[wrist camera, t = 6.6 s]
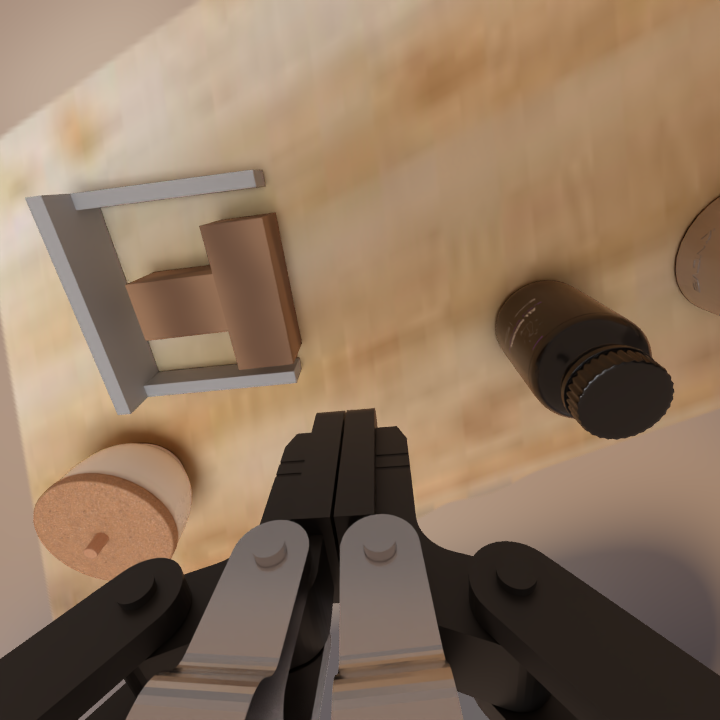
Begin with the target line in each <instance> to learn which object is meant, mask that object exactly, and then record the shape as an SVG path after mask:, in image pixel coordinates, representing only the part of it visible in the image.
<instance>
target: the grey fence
mask: <svg viewBox="0 0 720 720" xmlns="http://www.w3.org/2000/svg"><path fill="white" fill-rule="evenodd" d="M263 186H265V181H264V176H263V171H262V170H246V171H238V172H231V173H223V174H216V175H208V176H201V177H193V178H186V179H178V180H170V181H163V182H155V183H148V184H140V185H133V186H125V187H118V188H110V189H103V190H95V191H88V192H80V193H73V194H59V195H42V196H34V197H27V198H25V199H26V201H27V204H28V206H29V208H30V211H31V213H32V215H33V218H34V220H35V222H36V225H37V227H38V229H39V232H40V234H41V236H42V239H43V241H44V243H45V246H46V248H47V250H48V253H49V255H50V257H51V260H52V262H53V264H54V267H55V269H56V271H57V274H58V276H59V278H60V281H61V283H62V286H63V288H64V290H65V293H66V295H67V297H68V300H69V302H70V304H71V307H72V309H73V311H74V314H75V316H76V318H77V321H78V323H79V325H80V328H81V330H82V332H83V335H84V337H85V339H86V342H87V344H88V346H89V349H90V351H91V353H92V356H93V358H94V360H95V363H96V365H97V367H98V370H99V372H100V374H101V377H102V379H103V381H104V384H105V386H106V388H107V391H108V393H109V395H110V398H111V400H112V402H113V405H114V407H115V409H116V412H117V414H118V415H124V414H131V413H132V412H133V411H134V410H135V409H136V408H137V407H138V406H139V405H140V404H141V403H142V402H143V401H144V400H145V399H146V398H147V397H152V396H163V395H174V394H184V393H195V392H205V391H216V390H226V389H237V388H248V387H258V386H269V385H279V384H290V383H297V380H298V377H299V374H300V372H301V364H300V359H299V358H296V359H295V361H294V364H290V365H281V366H272V367H262V368H253V369H244V370H239V368H238V364H232V365H222V366H212V367H202V368H192V369H181V370H171V371H161V372H159V371H158V368H157V365H156V362H155V360H154V357H153V354H152V351H151V349H150V346H149V343H148V341H146V340H145V338H144V335H143V332H142V330H141V327H140V324H139V322H138V319H137V316H136V314H135V311H134V308H133V305H132V303H131V300H130V297H129V295H128V292H127V289H126V287H125V285H126V284H127V282H126V279H125V276H124V274H123V271H122V268H121V265H120V262H119V260H118V257H117V254H116V251H115V249H114V246H113V243H112V240H111V237H110V235H109V232H108V229H107V226H106V224H105V221H104V218H103V215H102V213H101V210H100V207H108V206H116V205H124V204H131V203H139V202H147V201H155V200H162V199H170V198H178V197H185V196H193V195H201V194H209V193H216V192H224V191H232V190H239V189H247V188H255V187H263Z"/></svg>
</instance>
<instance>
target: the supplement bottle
mask: <svg viewBox="0 0 720 720" xmlns="http://www.w3.org/2000/svg"><path fill="white" fill-rule="evenodd" d="M496 336H497V340H498V342H499V345H500V347H501V348H502V350H503V351H504V353H505V354H506V356H507V357H508V359H509V360H510V362H511V363H512V364H513V366H514V367H515V369H516V370H517V371H518V373H519V374H520V376H521V377H522V378H523V380H524V381H525V383H526V384H527V385H528V387H529V388H530V390H531V391H532V392H533V394H534V395H535V397H536V398H537V399H538V400H539V401H540V402H541V404H543V405H544V406H545V407H546V408H547V409H549V410H550V411H552V412H554V413H556V414H558V415H561V416H564V417H568V418H574V419H576V420H577V422H578V423H579V424H580V425H581V426H582V427H583V428H584V429H585V430H586V431H588V432H590V433H591V434H592V435H596V436H598V437H599V438H606V439H620V438H628V437H630V436H635V435H637V434H638V433H641V432H644V431H645V430H646V429H648V428H650V427H652V426H653V425H654V424H655V423H656V422H658V421H659V420H660V419H661V417H662V416H663V415H665V414H666V411H667V409H668V408H669V407H670V403H671V401H672V400H673V393H674V389H673V384H674V383H673V382H672V381H671V376H670V375H669V374H668V373H667V371H666V369H665V368H663V367H662V366H661V365H659V364H658V363H657V362H655V361H654V360H653V358H652V352H651V347H650V344H649V342H648V339H647V337H646V336H645V334H644V333H643V332H642V331H641V329H640V328H639V327H637V326H636V325H635V324H634V323H632V322H631V321H629V320H628V319H626V318H625V317H623V316H621V315H620V314H618V313H616V312H615V311H613V310H611V309H610V308H608V307H606V306H604V305H603V304H601V303H599V302H598V301H596V300H594V299H593V298H591V297H589V296H588V295H586V294H584V293H583V292H581V291H579V290H578V289H576V288H574V287H572V286H570V285H568V284H566V283H563V282H559V281H552V280H545V281H538V282H534V283H531V284H528V285H526V286H524V287H522V288H521V289H519V290H517V291H516V292H515V293H514V294H512V295H511V296H510V297H509V298H508V299H507V301H506V302H505V303H504V305H503V306H502V308H501V310H500V312H499V314H498V318H497V322H496Z"/></svg>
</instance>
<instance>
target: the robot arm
mask: <svg viewBox="0 0 720 720" xmlns="http://www.w3.org/2000/svg"><path fill="white" fill-rule="evenodd" d="M676 276H677V283H678V285H679V287H680V289H681V292H682V293H683V295H684V296H685V297H686V298H687V299H688V300H689V301H690V302H691V303H693V304H694V305H696V306H697V307H699V308H702V309H704V310H707V311H709V312H712V313H714V314H717V315H719V316H720V197H719V198H718V199H716V200H715V201H713V202H712V203H711V204H710V205H709V206H708V207H707V208H706V209H705V210H704V211H703V212H702V213H701V214H700V215H699V216H698V217H697V218H696V220H695V221H694V222H693V224H692V225H691V226H690V228H689V229H688V231H687V233H686V235H685V237H684V239H683V241H682V243H681V245H680V249H679V252H678V255H677V261H676ZM276 475H277V477H275V480H274V483H273V486H272V489H271V492H270V495H269V498H268V501H267V504H266V507H265V511H264V514H263V517H262V520H261V523H260V525H258V526H256V527H255V528H253V529H251V530H250V531H249V532H247V533H246V534H245V535H244V536H243V537H242V538H241V539H240V540H239V542H238V543H237V544H236V546H235V548H234V549H233V551H232V554H231V556H230V558H228V559H226V560H225V561H222V562H220V563H217V564H214V565H211V566H208V567H205V568H202V569H199V570H196V571H193V572H190V573H187V574H185V575H184V574H183V572H182V569H181V567H180V566H179V564H178V563H177V562H175V561H174V560H171V559H168V558H153V559H149V560H145V561H142V562H140V563H137V564H135V565H133V566H131V567H129V568H128V569H126V570H125V571H123V572H122V573H120V574H119V575H118V576H116V577H115V578H113V579H112V580H110V581H109V582H108V583H106V584H105V585H103V586H102V587H101V588H99V589H98V590H96V591H95V592H94V593H92V594H91V595H89V596H88V597H87V598H85V599H84V600H82V601H81V602H80V603H78V604H77V605H75V606H74V607H73V608H71V609H70V610H68V611H67V612H66V613H64V614H63V615H61V616H60V617H59V618H57V619H56V620H54V621H53V622H52V623H50V624H49V625H47V626H46V627H45V628H43V629H42V630H40V631H39V632H38V633H36V634H35V635H33V636H32V637H31V638H29V639H28V640H26V641H25V642H23V643H22V644H21V645H19V646H18V647H16V648H15V649H14V650H12V651H11V652H9V653H8V654H7V655H5V656H4V657H2V658H1V659H0V720H78V719H79V718H80V717H81V716H82V715H83V714H85V713H86V712H87V711H88V710H89V709H90V708H91V707H92V706H94V705H95V704H96V703H97V702H98V701H99V700H100V699H101V698H103V697H104V696H105V695H106V694H107V693H108V692H109V691H110V690H112V689H113V688H114V687H115V686H116V685H117V684H118V683H120V682H121V681H122V680H123V679H124V680H125V682H126V683H125V684H124V685H123V686H122V687H121V688H120V689H119V690H118V691H116V692H115V693H114V694H113V695H112V696H111V697H110V698H109V699H107V701H105V702H104V703H103V704H102V705H101V706H100V707H99V708H97V709H96V710H95V711H94V712H93V713H92V714H91V715H90V716H89V717H87V718H86V719H85V720H319V717H320V711H321V705H322V698H323V692H324V686H325V680H326V674H327V668H328V662H329V656H330V650H331V634H330V626H331V617H332V606H333V603H340V619H339V628H340V629H339V670H338V674H337V675H335V677H334V682H333V692H332V712H331V716H332V717H331V720H463V716H462V712H461V707H460V703H459V699H458V694H457V691H458V692H461V693H464V694H466V695H469V696H472V697H474V698H475V700H476V702H477V704H478V706H479V707H480V708H481V710H482V711H483V712H484V714H485V715H486V716H487V717H488V718H489V719H490V720H720V676H719V675H718V674H716V673H715V672H713V671H712V670H710V669H709V668H707V667H706V666H705V665H703V664H702V663H700V662H699V661H697V660H696V659H694V658H693V657H692V656H690V655H689V654H687V653H686V652H684V651H683V650H681V649H680V648H679V647H677V646H676V645H674V644H673V643H671V642H670V641H668V640H667V639H666V638H664V637H663V636H661V635H660V634H658V633H657V632H655V631H654V630H652V629H651V628H650V627H648V626H647V625H645V624H644V623H642V622H641V621H640V620H638V619H637V618H635V617H634V616H632V615H631V614H629V613H628V612H627V611H625V610H624V609H622V608H620V607H619V606H618V605H616V604H615V603H613V602H612V601H610V600H609V599H608V598H606V597H605V596H603V595H602V594H600V593H599V592H597V591H596V590H594V589H593V588H592V587H590V586H589V585H587V584H586V583H584V582H583V581H582V580H580V579H579V578H577V577H576V576H574V575H573V574H572V573H570V572H569V571H567V570H565V569H564V568H563V567H561V566H560V565H558V564H557V563H556V562H554V561H553V560H551V559H550V558H548V557H547V556H545V555H544V554H542V553H541V552H539V551H538V550H536V549H534V548H532V547H530V546H527V545H524V544H521V543H516V542H508V541H502V542H495V543H492V544H488V545H486V546H484V547H483V548H481V549H480V550H479V551H478V552H477V553H476V554H475V555H474V556H470V555H465V554H462V553H457V552H453V551H450V550H447V549H444V548H442V547H440V546H438V545H436V544H435V543H433V542H432V541H431V540H429V539H428V538H427V537H426V536H425V535H424V534H423V533H422V531H421V529H420V528H419V526H418V523H417V520H416V514H415V505H414V497H413V488H412V480H411V471H410V463H409V455H408V446H407V438H406V437H405V436H404V434H403V433H402V432H401V431H400V430H399V428H398V427H397V426H394V427H380V428H377V419H376V411H375V408H372V409H360V410H347V412H345V411H336V412H323V413H317V414H316V417H315V421H314V425H313V429H312V433H302V434H297V435H296V436H295V437H294V438H293V439H292V440H291V441H290V443H289V444H288V445H287V446H286V447H285V450H284V453H283V456H282V459H281V465H279V468H278V471H277V474H276Z"/></svg>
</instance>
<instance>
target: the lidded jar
mask: <svg viewBox="0 0 720 720" xmlns="http://www.w3.org/2000/svg"><path fill="white" fill-rule="evenodd" d="M191 502H192V490H191V485H190V481H189V478H188V475H187V473H186V472H185V470H184V468H183V465H182V463H181V462H180V460H179V459H178V458H177V457H176V456H175V455H174V454H173V453H172V452H170V451H169V450H167V449H165V448H163V447H161V446H158V445H155V444H149V443H142V444H139V443H127V444H120V445H115V446H111V447H108V448H105V449H103V450H100V451H98V452H96V453H94V454H92V455H91V456H89V457H87V458H86V459H84V460H83V461H82V462H80V463H79V464H77V465H76V466H75V467H73V468H72V469H71V470H70V471H69V472H67V473H66V474H65V475H64V476H63V477H62V478H61V479H60V480H59V481H57V482H56V483H55V484H53V485H52V486H51V487H49V488H48V489H47V490H46V491H45V492H44V494H43V495H42V496H41V497H40V498H39V499H38V501H37V503H36V505H35V509H34V520H33V522H34V526H35V530H36V532H37V535H38V537H39V539H40V540H41V542H42V543H43V545H44V546H45V547H46V548H47V549H48V551H49V552H50V553H52V554H53V555H54V556H55V557H56V558H57V559H59V560H60V561H61V562H63V563H64V564H65V565H67V566H69V567H71V568H73V569H74V570H76V571H79V572H81V573H83V574H86V575H89V576H92V577H95V578H99V579H103V580H109V581H110V580H112V579H113V578H115V577H116V576H118V575H119V574H120V573H122V572H123V571H125V570H126V569H128V568H129V567H131V566H133V565H135V564H137V563H140V562H142V561H145V560H149V559H153V558H168V559H171V557H172V555H173V553H174V551H175V549H176V547H177V543H178V541H179V539H180V537H181V535H182V532H183V530H184V528H185V526H186V523H187V520H188V517H189V512H190V508H191Z"/></svg>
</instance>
